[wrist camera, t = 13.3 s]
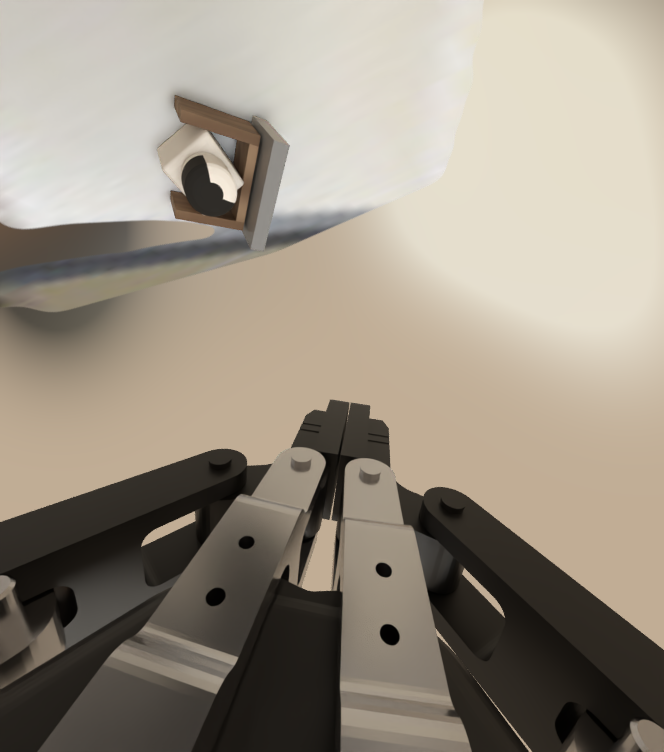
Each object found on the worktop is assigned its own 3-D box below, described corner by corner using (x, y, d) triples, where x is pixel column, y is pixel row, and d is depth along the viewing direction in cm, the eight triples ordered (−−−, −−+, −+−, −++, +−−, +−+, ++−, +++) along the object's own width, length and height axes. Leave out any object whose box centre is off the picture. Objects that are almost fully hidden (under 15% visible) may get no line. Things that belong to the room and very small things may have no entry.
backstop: (252, 115, 45) (274, 140, 40) (266, 120, 46) (289, 145, 41) (235, 217, 54) (250, 249, 49) (247, 219, 55) (263, 251, 50)
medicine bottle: (196, 195, 50) (210, 234, 43) (155, 148, 44) (165, 186, 37) (233, 164, 49) (254, 200, 42) (197, 112, 43) (215, 145, 36)
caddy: (174, 95, 41) (181, 109, 37) (249, 121, 45) (260, 136, 42) (170, 199, 49) (175, 218, 45) (234, 212, 53) (242, 230, 50)
